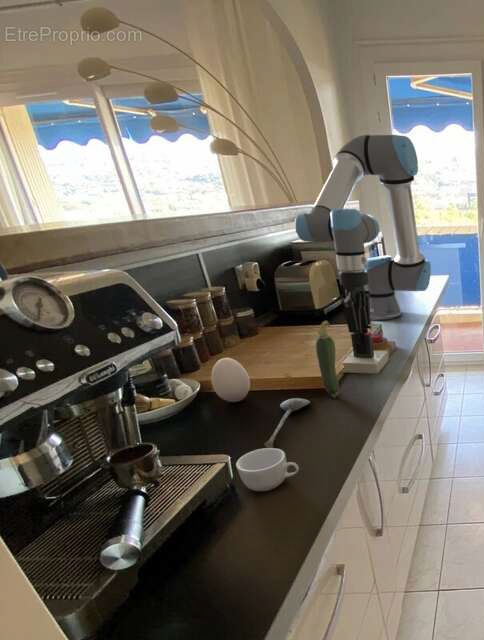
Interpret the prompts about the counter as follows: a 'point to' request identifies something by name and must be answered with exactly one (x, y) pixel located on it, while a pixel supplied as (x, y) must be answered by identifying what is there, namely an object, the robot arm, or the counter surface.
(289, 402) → the soupspoon
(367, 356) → the dark grey block
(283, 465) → the teacup
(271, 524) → the counter surface
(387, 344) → the button block
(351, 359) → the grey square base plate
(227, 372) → the egg
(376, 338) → the button
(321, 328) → the vegetable
